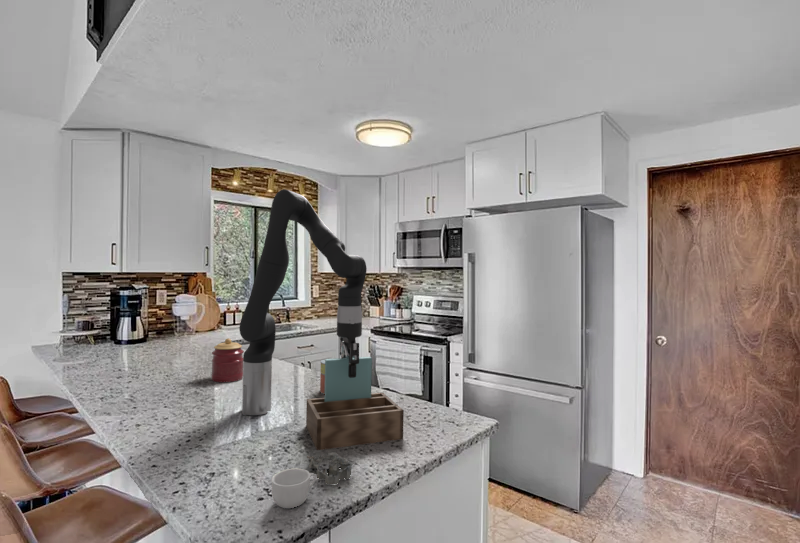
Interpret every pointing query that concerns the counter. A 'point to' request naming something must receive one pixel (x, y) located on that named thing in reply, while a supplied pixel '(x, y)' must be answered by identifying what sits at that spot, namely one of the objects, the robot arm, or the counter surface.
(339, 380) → the teal board
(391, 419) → the rack
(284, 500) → the teacup
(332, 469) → the egg carton
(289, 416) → the counter surface
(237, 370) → the canister
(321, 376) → the canned food
